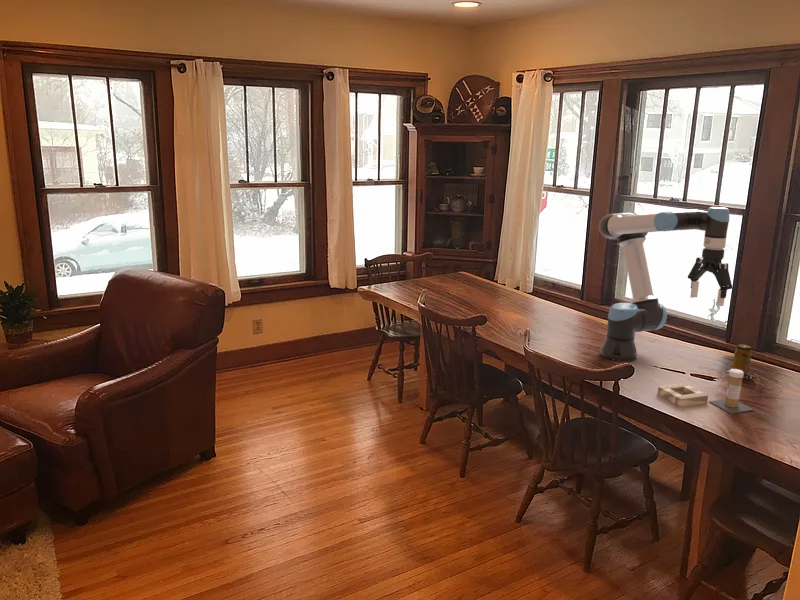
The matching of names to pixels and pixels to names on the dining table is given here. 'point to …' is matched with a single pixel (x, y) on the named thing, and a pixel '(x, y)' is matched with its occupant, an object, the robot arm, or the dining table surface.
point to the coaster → (731, 410)
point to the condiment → (742, 359)
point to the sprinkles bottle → (734, 388)
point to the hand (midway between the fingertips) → (706, 301)
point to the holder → (689, 397)
